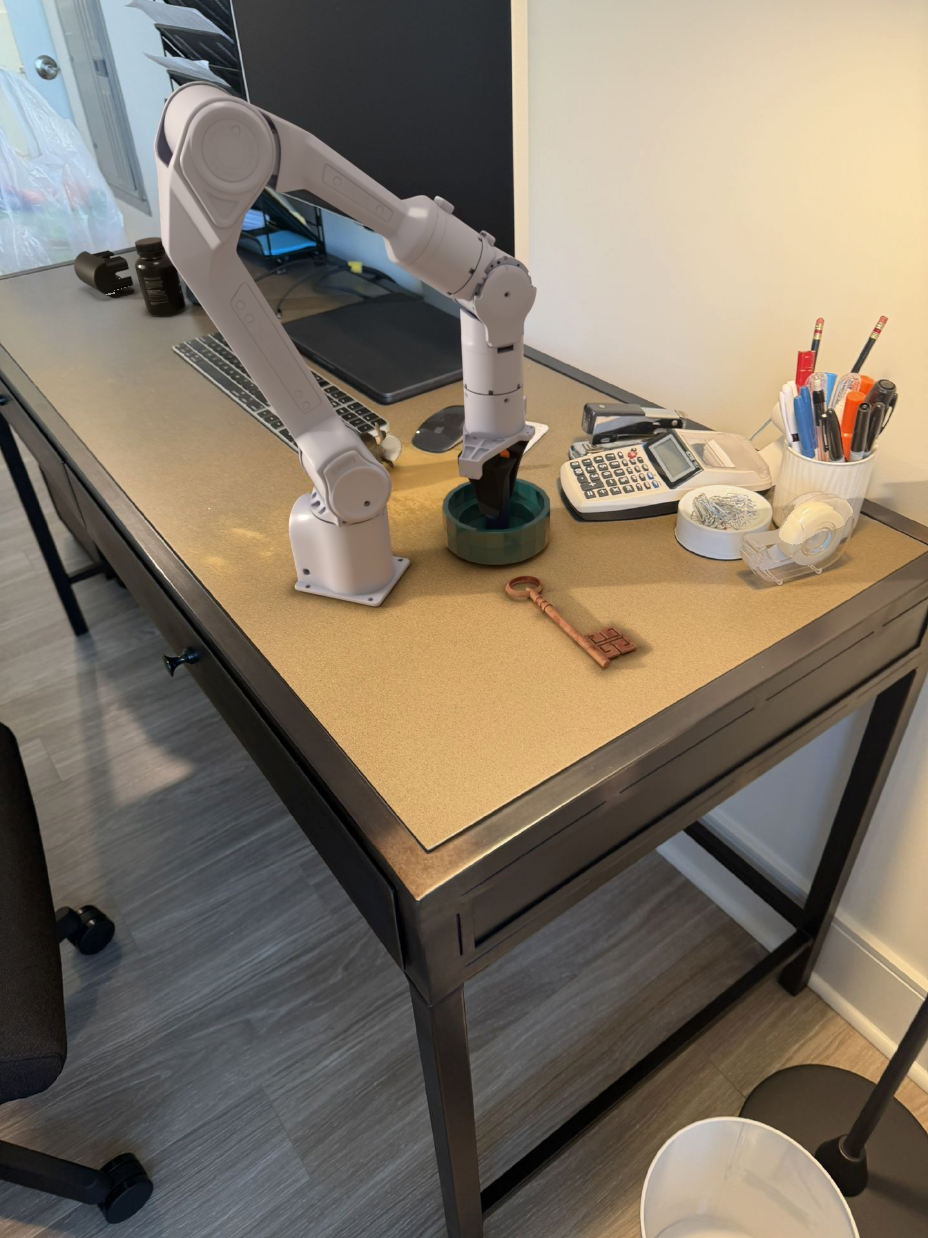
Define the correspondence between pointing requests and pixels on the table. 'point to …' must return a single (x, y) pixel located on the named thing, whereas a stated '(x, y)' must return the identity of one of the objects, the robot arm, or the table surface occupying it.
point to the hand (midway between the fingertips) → (496, 506)
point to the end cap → (103, 273)
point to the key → (583, 640)
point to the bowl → (497, 545)
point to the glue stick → (504, 518)
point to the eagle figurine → (382, 446)
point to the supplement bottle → (158, 278)
